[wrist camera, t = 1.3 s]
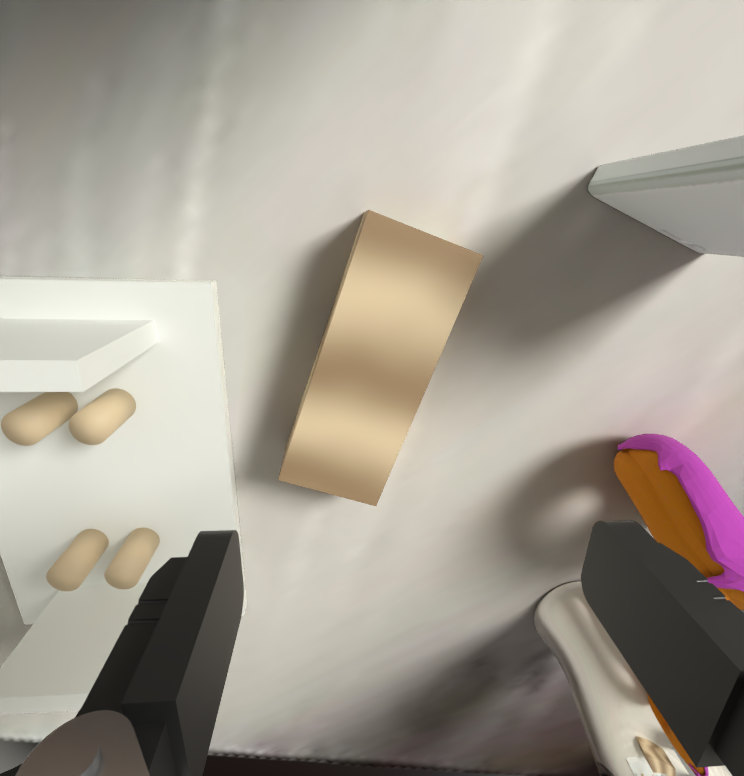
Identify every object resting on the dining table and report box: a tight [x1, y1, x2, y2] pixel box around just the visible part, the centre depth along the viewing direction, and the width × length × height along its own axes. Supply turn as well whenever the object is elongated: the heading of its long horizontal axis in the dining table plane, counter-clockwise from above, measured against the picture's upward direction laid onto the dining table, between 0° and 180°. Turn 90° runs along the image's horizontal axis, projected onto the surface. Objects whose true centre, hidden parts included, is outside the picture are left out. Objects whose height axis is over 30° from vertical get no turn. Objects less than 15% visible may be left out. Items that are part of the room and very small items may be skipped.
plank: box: [278, 210, 483, 506], centre depth 23 cm, size 14×6×4 cm, turn 160°
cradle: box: [0, 276, 247, 715], centre depth 22 cm, size 22×14×8 cm, turn 178°
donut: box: [614, 434, 744, 610], centre depth 24 cm, size 8×9×10 cm
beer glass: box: [534, 581, 732, 776], centre depth 26 cm, size 7×7×15 cm
